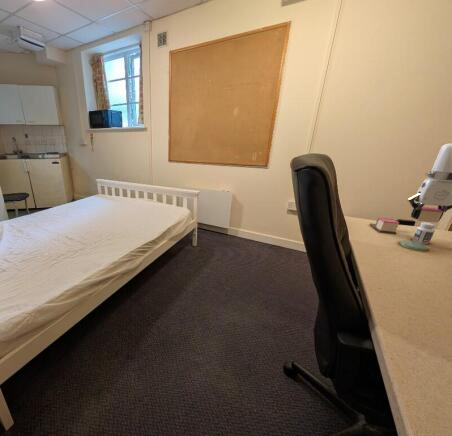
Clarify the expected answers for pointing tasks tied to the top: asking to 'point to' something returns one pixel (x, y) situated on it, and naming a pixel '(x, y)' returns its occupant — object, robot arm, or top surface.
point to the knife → (401, 222)
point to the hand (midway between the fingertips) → (424, 218)
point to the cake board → (381, 230)
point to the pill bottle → (424, 233)
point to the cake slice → (429, 214)
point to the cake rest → (387, 225)
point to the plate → (413, 245)
